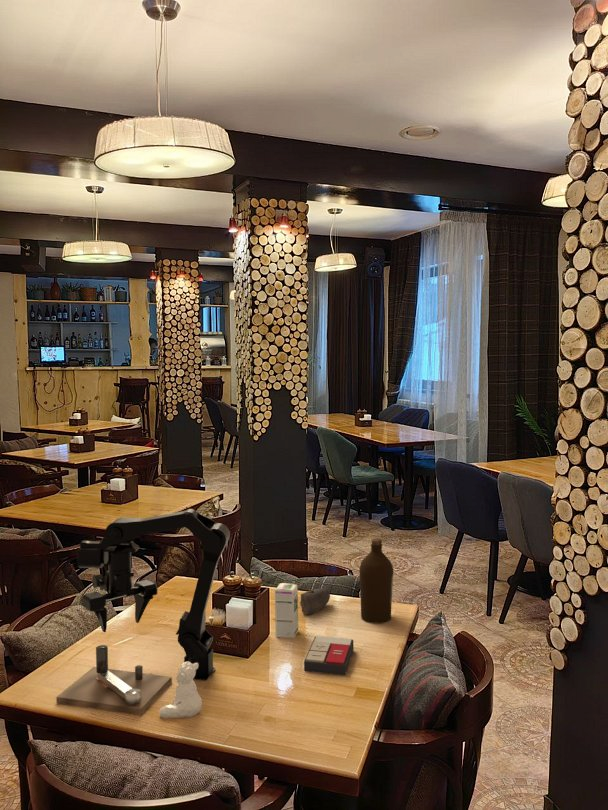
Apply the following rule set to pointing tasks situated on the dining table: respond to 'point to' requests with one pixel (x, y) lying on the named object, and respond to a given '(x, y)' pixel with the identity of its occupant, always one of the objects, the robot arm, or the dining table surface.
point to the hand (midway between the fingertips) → (121, 627)
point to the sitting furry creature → (184, 695)
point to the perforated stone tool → (314, 600)
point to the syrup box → (286, 610)
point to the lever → (114, 678)
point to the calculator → (329, 655)
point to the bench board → (103, 697)
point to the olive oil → (376, 585)
